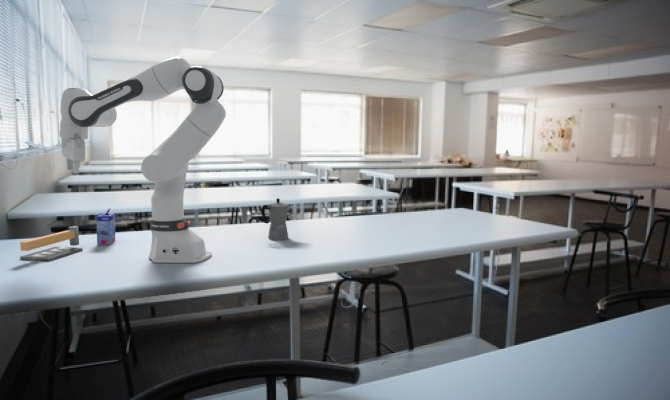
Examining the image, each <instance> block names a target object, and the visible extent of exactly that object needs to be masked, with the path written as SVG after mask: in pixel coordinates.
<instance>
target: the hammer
mask: <svg viewBox="0 0 670 400" xmlns="http://www.w3.org/2000/svg"><path fill="white" fill-rule="evenodd" d="M79 235H80V234H79V226H78V225H72V226H68V229H67V230H63V231H60V232H56V233H52V234H46V235H43V236H39V237H35V238H31V239H28V240H23V241H20V242H19V244H20V251H21V252H22V251H23V252H24V251H25V252H29V251H32V250H36V249H41V248H42V247H43V248H44V247H46V246H50V245H54V244H57V243H61V242H64V241H68V240H69V246H73V247H74V246H79V245H80V237H79Z"/></svg>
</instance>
